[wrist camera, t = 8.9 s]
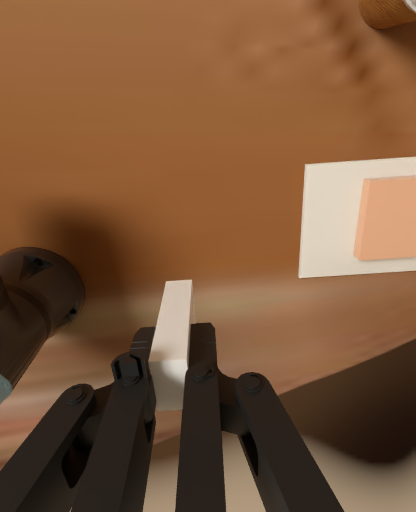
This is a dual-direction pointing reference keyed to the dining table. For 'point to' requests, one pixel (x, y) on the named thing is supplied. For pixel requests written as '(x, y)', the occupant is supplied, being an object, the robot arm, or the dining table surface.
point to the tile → (387, 219)
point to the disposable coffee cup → (387, 12)
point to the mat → (342, 217)
